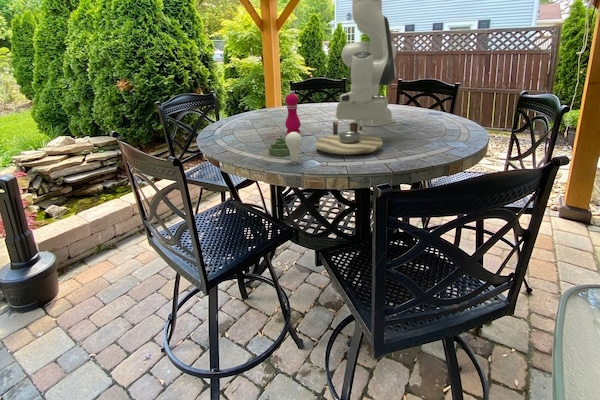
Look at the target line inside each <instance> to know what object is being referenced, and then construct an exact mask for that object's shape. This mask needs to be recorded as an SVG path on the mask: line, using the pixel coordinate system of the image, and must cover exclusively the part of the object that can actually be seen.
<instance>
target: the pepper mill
mask: <svg viewBox="0 0 600 400" xmlns="http://www.w3.org/2000/svg"><path fill="white" fill-rule="evenodd" d="M298 102H299V97H298V95H297V94H294V91H293V90H289V94H287V95H286V97H285V103H286V109H287V117H286V120H285V124H284V126H285V128H286V129H287V130H286V136H287V135H288V134H289V133H291V132H297V133H299V134H300V135H301V130H300V128H301V121H300V119H299V116H298V112H297V109H298Z"/></svg>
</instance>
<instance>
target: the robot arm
mask: <svg viewBox="0 0 600 400" xmlns="http://www.w3.org/2000/svg"><path fill="white" fill-rule="evenodd" d="M382 1H383V0H352V6H351V7H352V19H353V22H354V23H355V25H356V27H357V28H356V29H357V30H358V31H359V32H360V33H362V34H364V35H366V36H367V37H368V38H369V40H370V41H355V42H350V43H346V44H345V45H344V47H342V51H341V60H342V62H343V64H344V65H345V66H347V67H348V80H349V81H350V83H351V84H350V91H347V92H345V93H342V94H340V95H339V96H338V97H339V98H338V101H339V102H338V103H337V106H336V111H335V112H336V113H335V114H336V115H335V118H336V119H337V120H346V121H347V120H348V121H349V120H350V121H351V120H353V121H352V123H356V124H357V131H364V128H365V127H381V126H386V125H389V124H394V123H397V120H396V119H394V118H393V116H392V115H393V114H392V111H391V109H390V108H389V107H388V105H389V98H387V97H386V96H385V95H379V92H380V88H379V87H380V86H389V85H391V84H392V83H393V82H394V81H395V80H396V77H397V67H396V63H395V59H396V56H397V48H396V45H395V44H394V43H393V42H392V33H391V29H390V23H389V20H388V17H387V16H385V15H384V14H383V12H382V11H383V10H382V9H383V8H382V7H383V5H382V4H383V3H382Z"/></svg>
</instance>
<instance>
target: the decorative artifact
mask: <svg viewBox="0 0 600 400" xmlns="http://www.w3.org/2000/svg"><path fill="white" fill-rule="evenodd" d="M268 153H269V156H272V157H288V156H291V155H290V151H289V148H288V147H287V145H286V142H285V138H284V137H283V136H282V135H280V137H277V139H276V140H275V141H274V142H271V143H270V146H269V147H268Z"/></svg>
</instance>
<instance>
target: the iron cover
mask: <svg viewBox="0 0 600 400" xmlns="http://www.w3.org/2000/svg"><path fill="white" fill-rule="evenodd" d="M338 134H339V142H340V143H343V144H355V143H359V142H360V134H361V133H360V132H358V131H357V132H354V131H350V130H346V131H343V132H340V133H338Z"/></svg>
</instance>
